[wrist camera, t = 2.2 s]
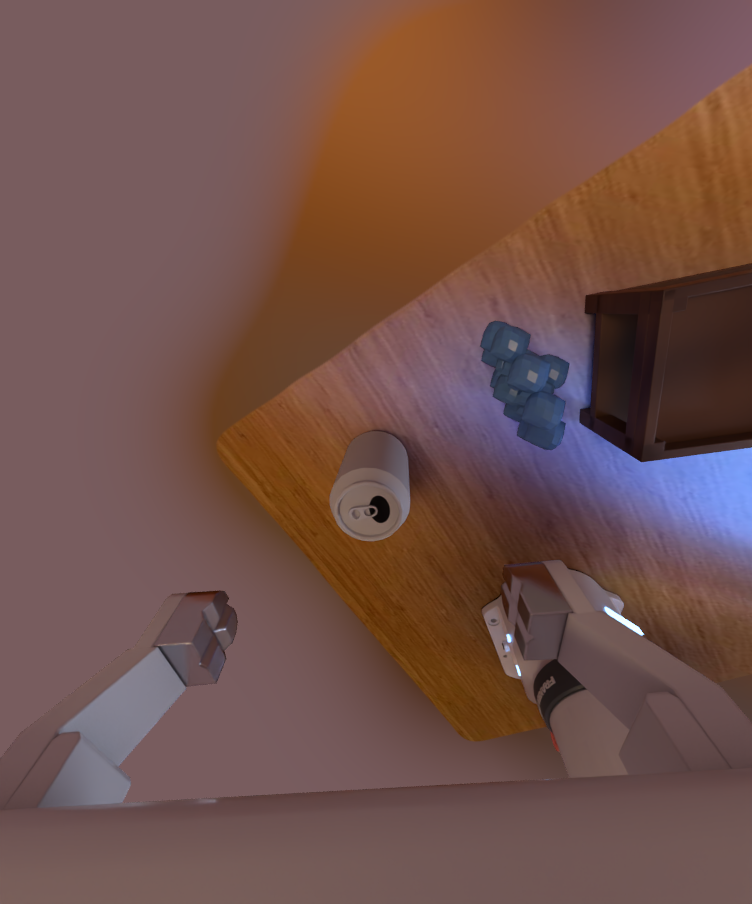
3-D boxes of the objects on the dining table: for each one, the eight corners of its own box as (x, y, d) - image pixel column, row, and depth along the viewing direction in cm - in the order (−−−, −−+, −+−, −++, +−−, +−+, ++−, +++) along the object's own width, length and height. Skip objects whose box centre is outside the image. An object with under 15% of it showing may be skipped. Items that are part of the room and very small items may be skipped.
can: (410, 482, 41) (414, 546, 30) (351, 486, 42) (333, 550, 31) (405, 425, 38) (407, 473, 27) (341, 431, 39) (318, 480, 28)
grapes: (556, 404, 36) (626, 447, 25) (496, 429, 37) (536, 480, 26) (525, 299, 32) (592, 294, 21) (459, 331, 33) (488, 343, 22)
